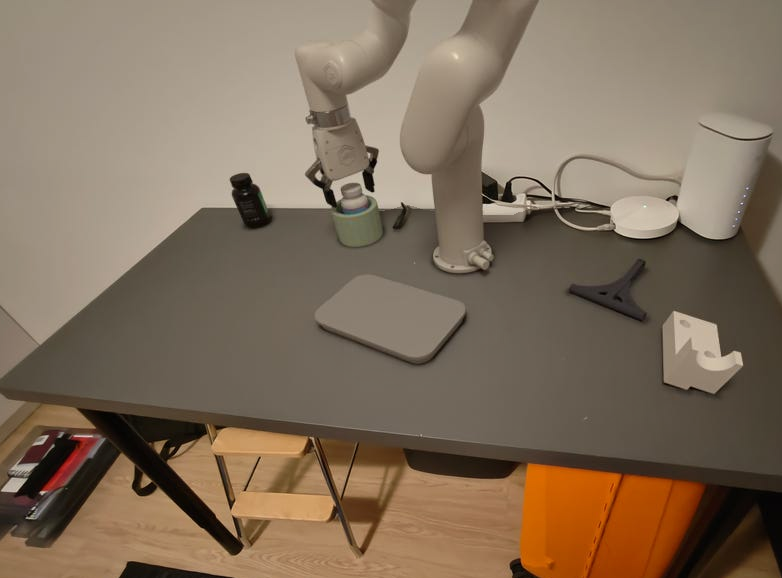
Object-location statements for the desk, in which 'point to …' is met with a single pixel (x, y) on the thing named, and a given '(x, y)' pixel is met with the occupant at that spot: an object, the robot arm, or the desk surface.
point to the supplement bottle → (249, 201)
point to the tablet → (392, 317)
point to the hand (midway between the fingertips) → (351, 198)
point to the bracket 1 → (615, 293)
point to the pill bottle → (353, 199)
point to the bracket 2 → (695, 354)
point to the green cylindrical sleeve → (358, 225)
